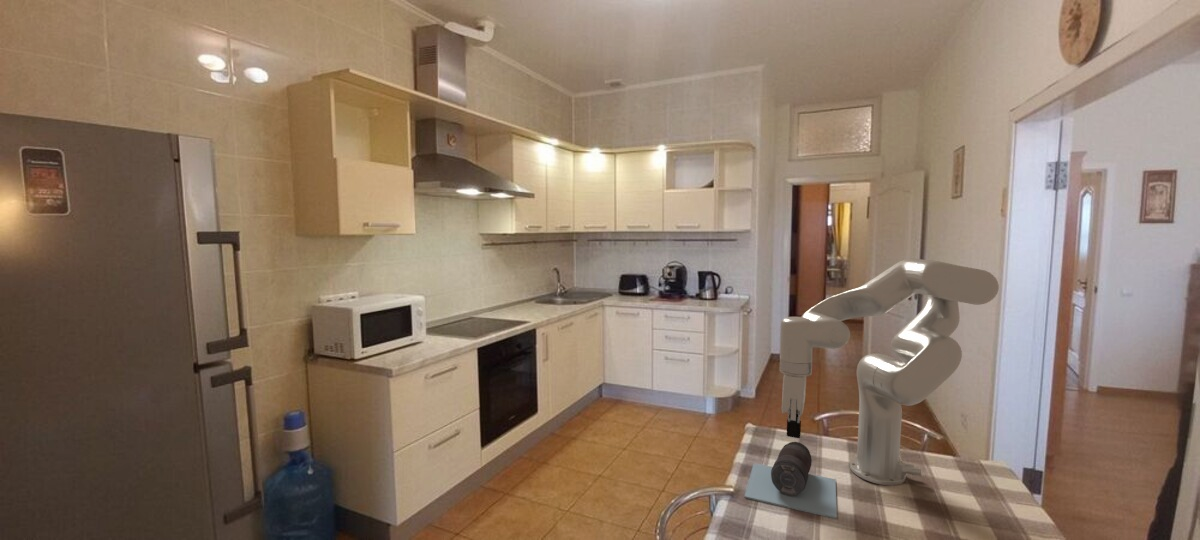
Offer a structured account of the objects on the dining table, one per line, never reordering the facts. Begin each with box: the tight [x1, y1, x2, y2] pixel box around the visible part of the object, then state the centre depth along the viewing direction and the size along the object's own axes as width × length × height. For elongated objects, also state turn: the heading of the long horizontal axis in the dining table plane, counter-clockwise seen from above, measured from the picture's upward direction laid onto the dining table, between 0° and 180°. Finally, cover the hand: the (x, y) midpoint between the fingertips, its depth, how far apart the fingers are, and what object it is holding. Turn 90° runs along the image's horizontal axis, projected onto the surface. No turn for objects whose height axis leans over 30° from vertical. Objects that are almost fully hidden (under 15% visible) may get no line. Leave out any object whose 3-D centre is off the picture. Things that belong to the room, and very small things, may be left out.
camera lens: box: [771, 441, 813, 495], centre depth 119 cm, size 8×8×15 cm
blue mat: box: [743, 462, 838, 520], centre depth 117 cm, size 20×17×1 cm
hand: (793, 435), depth 120 cm, fingers closed
